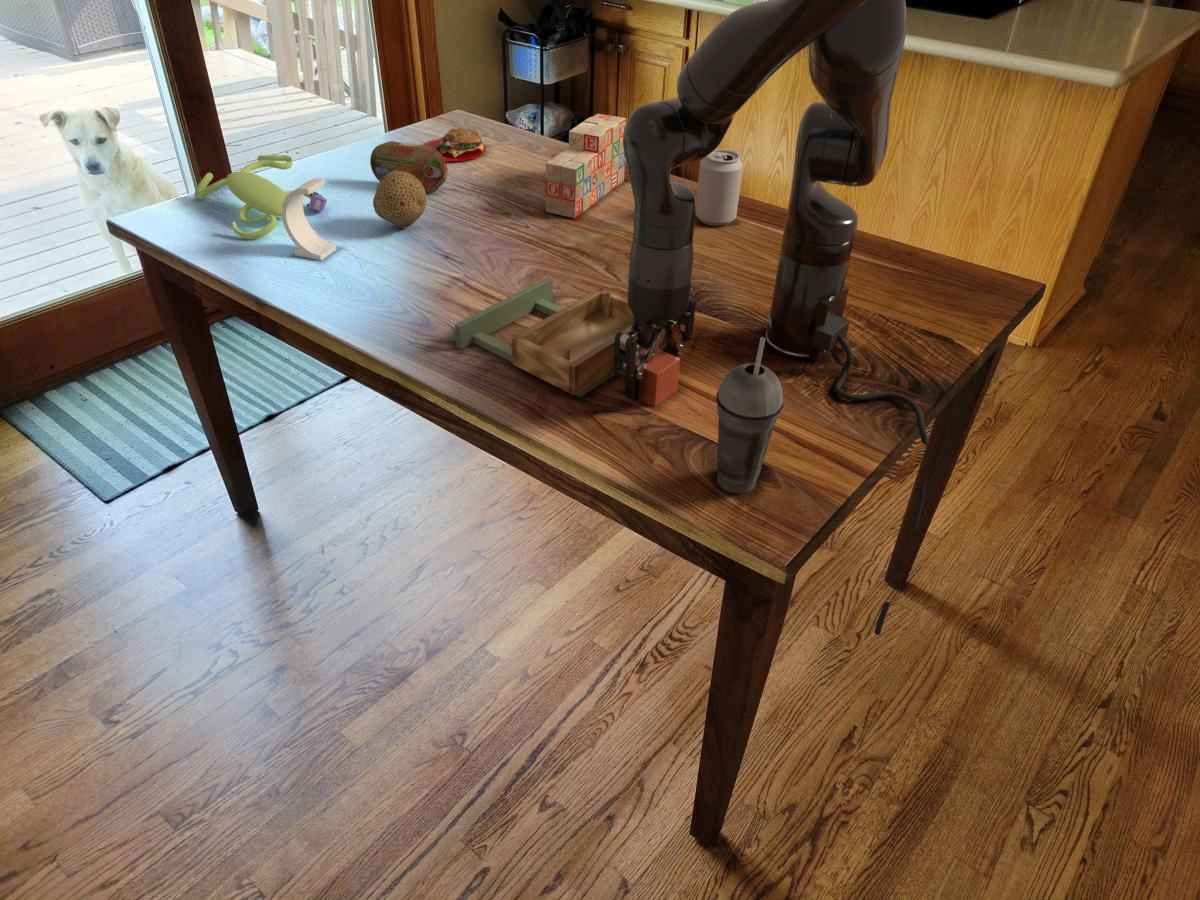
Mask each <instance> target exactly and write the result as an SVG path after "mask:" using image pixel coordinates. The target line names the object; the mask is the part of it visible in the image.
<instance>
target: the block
mask: <svg viewBox="0 0 1200 900" xmlns="http://www.w3.org/2000/svg"><path fill="white" fill-rule="evenodd" d="M647 351H648V350H645V349H643V350H641V351H640V353H643V354H646V353H647ZM639 362H640V359H638V358H636V362H635V368H637V367H638V365H639ZM680 365H681V358H680V357H679V358H678V357H675V356H673V355H671V354H669V353H666V352H664V351H663V349H660V348H659V349H658V350H657V351H656V354H655V356H654V358H653V361H652V362H651V363H648V364H647V366H646V368H645V371H644V373H643V376H642V377H643V385H642V398H641V400H640V401H643V402H644V403H646V404H649V405H651V406H652V407H656V406H657V405H659V404H660V403H662V402H663V401H664V400H666V399H668V398H669V397H670V396H671V395H673V394H674V393H675V392H676V391H678V385H679V375H680Z"/></svg>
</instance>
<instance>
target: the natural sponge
mask: <svg viewBox="0 0 1200 900" xmlns="http://www.w3.org/2000/svg"><path fill="white" fill-rule="evenodd" d="M372 207H373V209H374V212H375V214H376V215H377V216H378V217H379V218H380V219H382V220H384V221H386V222H388V223H389V224H391V225H392V226H395V227H396V228H399V229H407V228H409V227H411V226H412V225H414V224H415V223H416V221H417V220H418V219H420V217H421V216H422V215H423V214H424V212H425V210H426V207H427V193H426V192H425V189H424V187H423V186H422V184H421V182H420V181H419V180H418V179H417V178H416V177H415V176H413V175H412V174H410V173H408V172H403V171H393V172H390V173H388V174H387V175H386V176H384V177H383V179H382V180H381V181H380V182H379V183H378V185H377V187H376V190H375V193H374V197H373V198H372Z"/></svg>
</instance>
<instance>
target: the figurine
mask: <svg viewBox="0 0 1200 900" xmlns="http://www.w3.org/2000/svg"><path fill="white" fill-rule="evenodd" d="M293 163H294V161H293V158H292V156H290V155H285V154H268V155H267V154H265V155H264V154H263V155H262V154H261V155H258V156H257V161H254V162H251V163H249V164H247V165H245V166H244V167H243V168H241V170H240V171H232V172H231V173H229V174H227V176H226V178H222V179H220V180H217V181H216V182H214V183H212V184H209V183H211V181H212V180H213V178H214V174H213V173H211V172H207V173H206V174H204V175H205V176H203V177H202V179H201V181H200V182H199V183H198V185H197V186H196V189H195V191H194V195H193V197H194V199H195V200H203V199H205V198H207V196H208V195H210V194H212V193H214V192H216V191H217V190H219V189H221V188H223V187H225V186H227V187H228V190H229V191H230V193H232V194H233V195H234V196H235V197H236V198H237V199H238V200H239V201H240V202H242V203H244V204H245V205H243V206H242V207H241V208H240V210H239V212H238V214H237V215H238V220H239V221H240V222H242V223H250V222H255V221H256V222H257V221H261V220H265V219H266V220H268V221H269V222H268V223H267V224H266V225H265V226H264V227H263V228H260V229H258V230H256V231H252V232H251V231H250V232H247V231H244V230H242V229H239V227H238V226H237V223H236V221H232V222H231V227H232V230H233V232H234V233H235V234H236V235H237V236H239V237H241V238H242V239H245V240H256V239H259V238H263V237H265V236H267V235H269V234H270V233H271V232H273V230H274V229H275V228H276V227H277V225H278V219H277V217H282V204H283V201H284V199H285V197H286V196H287V195H288V194H289V193H290V192H292V191H293V190H289V191H288V190H287V191H284V190H283V189H282V188H281V187H279V186H278V185H276V184H275V183H273V182H272V181H271V180H268V179H267V178H265V177H263V176H260V175H258V174H254V173H251V172H252V171H253V170H257V169H261V168H267V167H268V168H274V169H277V170H282V171H283V170H289V169H291V168H292V166H293ZM304 197H306V198H308V199H309V200H310V201H309V203H307V204H306V207H307V208H309V209H311V210H314V211H316V212H319V213H321V212H323V211H324V210H325V208H326V204H327V201H328V199H327V198H325V197H324V196H323V195H322V194H319V193H318V192H316V191H313V192H312V193H310V194H305V195H304ZM252 209H253V210H254V211H257V212H259V213H262V214H265V215H263V216H262V215H261V216H257V217H253V218H247V217H246V216H247V213H248V212H250V211H251V210H252Z"/></svg>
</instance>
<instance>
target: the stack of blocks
mask: <svg viewBox="0 0 1200 900" xmlns="http://www.w3.org/2000/svg"><path fill="white" fill-rule="evenodd" d="M627 120H628V118H626V117H621V116H615V115H610V114H604V113H596V114H594V115H593V116H590V117H588V118H585V120H584V121H582V122H580V123H579V124H578V125H576V126H574V127H573V128H571V129H570V130H569V131H568V148H566V149H565V150H563V151H562V152H560V153H559V154H556V155H555V156H554V157H552V158H551V159H549V160H547V162H545V181H544V186H545V187H544V191H545V192H544V193H545V212H546V213H551V214H555V215H559V216H563V217H567V218H573V219H576V218H577V217H578V216H579V215H581V214H582V213H584V212H585V211H586V210H588V209H589V208H590V207H592V206H593V205H595V204H596V203H597V202H598V201H599V200H601V199H602V198H603V197H604V196H605V195H607V194H608V193H609V192H611V191H613V190H614V189H615V188H616V187H618V186H619V185H621V184H622V183H623V182H624V181H625V169H626V167H625V164H626V159H625V154H624V149H623V133H624V129H625V125H626V123H627Z"/></svg>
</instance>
